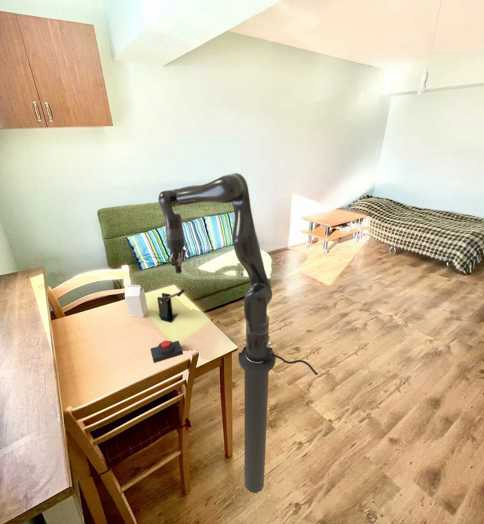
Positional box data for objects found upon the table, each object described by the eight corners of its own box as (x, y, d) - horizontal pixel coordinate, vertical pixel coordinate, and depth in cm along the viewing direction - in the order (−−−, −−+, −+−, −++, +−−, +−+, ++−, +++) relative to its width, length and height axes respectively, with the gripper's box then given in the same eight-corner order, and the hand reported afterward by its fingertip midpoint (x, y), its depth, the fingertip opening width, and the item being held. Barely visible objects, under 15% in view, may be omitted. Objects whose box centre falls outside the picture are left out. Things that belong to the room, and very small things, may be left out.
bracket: (179, 315, 143) (177, 293, 138) (171, 324, 136) (168, 301, 131) (162, 312, 146) (159, 290, 141) (153, 320, 139) (150, 298, 134)
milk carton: (144, 320, 139) (137, 288, 130) (130, 320, 139) (122, 289, 130) (148, 311, 145) (142, 281, 136) (134, 312, 145) (127, 281, 136)
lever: (185, 291, 134) (183, 287, 133) (180, 296, 129) (178, 292, 129) (166, 299, 140) (163, 295, 139) (160, 304, 135) (158, 300, 135)
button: (169, 342, 117) (168, 339, 117) (171, 347, 114) (170, 344, 114) (160, 345, 116) (160, 341, 115) (162, 350, 113) (162, 347, 112)
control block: (178, 344, 122) (178, 337, 120) (183, 354, 116) (182, 346, 114) (150, 352, 117) (149, 345, 116) (153, 363, 111) (152, 355, 110)
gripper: (175, 242, 114) (179, 279, 121) (189, 233, 126) (192, 268, 132) (159, 240, 116) (164, 277, 123) (175, 231, 128) (178, 266, 134)
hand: (178, 272), depth 128 cm, fingers closed
